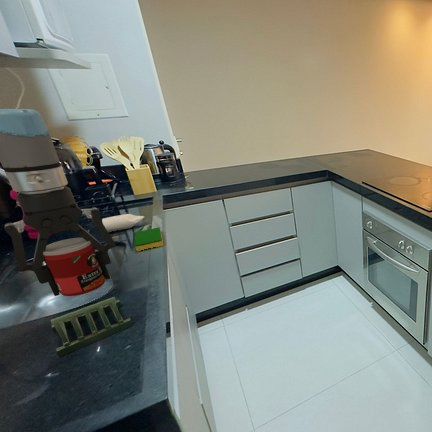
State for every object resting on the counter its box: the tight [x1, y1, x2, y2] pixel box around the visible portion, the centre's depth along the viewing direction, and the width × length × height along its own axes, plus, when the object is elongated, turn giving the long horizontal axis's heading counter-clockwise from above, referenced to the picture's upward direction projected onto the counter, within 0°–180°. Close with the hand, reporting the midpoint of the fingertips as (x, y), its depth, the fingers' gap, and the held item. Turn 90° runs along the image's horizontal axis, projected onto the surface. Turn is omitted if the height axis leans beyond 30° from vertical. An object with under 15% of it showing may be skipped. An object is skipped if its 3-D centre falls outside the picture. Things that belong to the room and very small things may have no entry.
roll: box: [101, 213, 145, 233], centre depth 112 cm, size 6×12×6 cm, turn 127°
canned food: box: [43, 237, 106, 297], centre depth 66 cm, size 8×8×11 cm
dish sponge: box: [134, 227, 164, 252], centre depth 102 cm, size 7×14×2 cm, turn 38°
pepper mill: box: [9, 188, 54, 240], centre depth 104 cm, size 7×7×20 cm
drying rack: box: [50, 296, 133, 358], centre depth 61 cm, size 11×11×8 cm
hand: (82, 284), depth 68 cm, fingers closed on canned food, 8 cm apart
